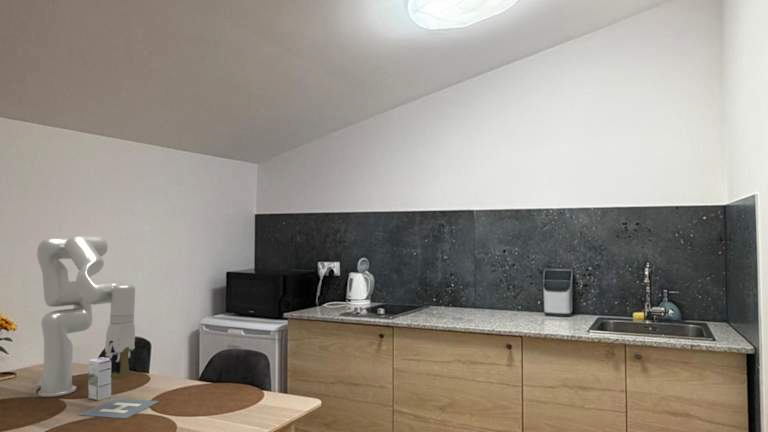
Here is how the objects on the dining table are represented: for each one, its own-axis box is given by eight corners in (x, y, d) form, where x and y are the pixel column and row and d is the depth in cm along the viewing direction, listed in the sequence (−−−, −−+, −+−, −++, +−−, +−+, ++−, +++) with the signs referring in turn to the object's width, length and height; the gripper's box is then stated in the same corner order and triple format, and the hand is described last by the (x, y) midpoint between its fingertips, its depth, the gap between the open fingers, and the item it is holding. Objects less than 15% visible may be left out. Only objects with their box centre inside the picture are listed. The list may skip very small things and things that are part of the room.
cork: (121, 379, 179) (123, 347, 179) (106, 378, 180) (107, 346, 181) (133, 374, 185) (134, 344, 185) (118, 373, 186) (119, 342, 187)
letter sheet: (78, 415, 175) (78, 414, 175) (115, 398, 192) (115, 398, 192) (126, 418, 171) (126, 417, 171) (159, 401, 189) (159, 401, 189)
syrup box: (111, 396, 195) (112, 357, 196) (97, 401, 190) (98, 361, 190) (101, 394, 197) (102, 356, 198) (86, 399, 192) (87, 359, 193)
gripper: (128, 314, 192) (126, 364, 191) (95, 322, 176) (93, 376, 175) (146, 316, 191) (144, 366, 190) (115, 324, 174) (112, 378, 174)
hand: (119, 370), depth 183 cm, fingers closed on cork, 3 cm apart
